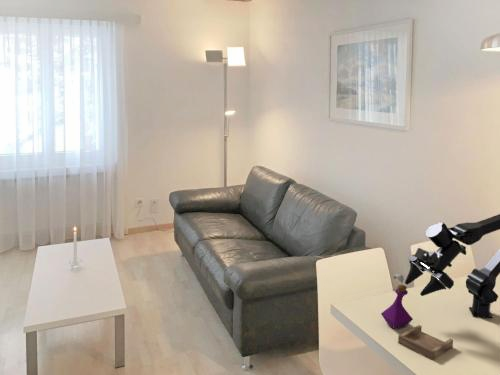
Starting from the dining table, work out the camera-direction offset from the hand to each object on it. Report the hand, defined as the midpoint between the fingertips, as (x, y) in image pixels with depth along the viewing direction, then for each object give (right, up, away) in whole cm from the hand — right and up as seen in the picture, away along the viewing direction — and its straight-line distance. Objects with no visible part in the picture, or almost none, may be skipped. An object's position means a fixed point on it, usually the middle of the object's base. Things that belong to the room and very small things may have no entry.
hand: (413, 289), depth 163 cm
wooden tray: (0, -15, -11) cm, 18 cm away
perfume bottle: (-5, -13, +2) cm, 14 cm away
